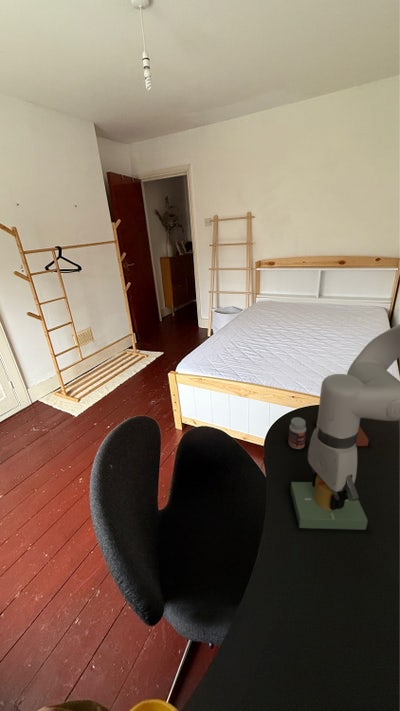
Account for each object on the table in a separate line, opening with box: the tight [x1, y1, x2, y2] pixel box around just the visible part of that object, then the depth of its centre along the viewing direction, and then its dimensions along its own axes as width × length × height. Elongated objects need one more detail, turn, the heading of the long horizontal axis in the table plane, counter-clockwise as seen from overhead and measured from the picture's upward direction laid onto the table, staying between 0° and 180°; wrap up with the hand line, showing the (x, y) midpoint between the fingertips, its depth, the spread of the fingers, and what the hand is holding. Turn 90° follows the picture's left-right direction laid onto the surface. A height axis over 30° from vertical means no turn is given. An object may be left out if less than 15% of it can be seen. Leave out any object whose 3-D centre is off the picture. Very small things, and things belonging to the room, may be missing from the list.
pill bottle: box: [288, 416, 307, 450], centre depth 88 cm, size 5×5×8 cm
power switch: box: [315, 418, 370, 447], centre depth 91 cm, size 12×10×4 cm
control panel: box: [290, 481, 369, 531], centre depth 69 cm, size 14×10×3 cm
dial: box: [314, 475, 342, 510], centre depth 67 cm, size 6×6×6 cm
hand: (327, 495), depth 68 cm, fingers closed on dial, 5 cm apart
